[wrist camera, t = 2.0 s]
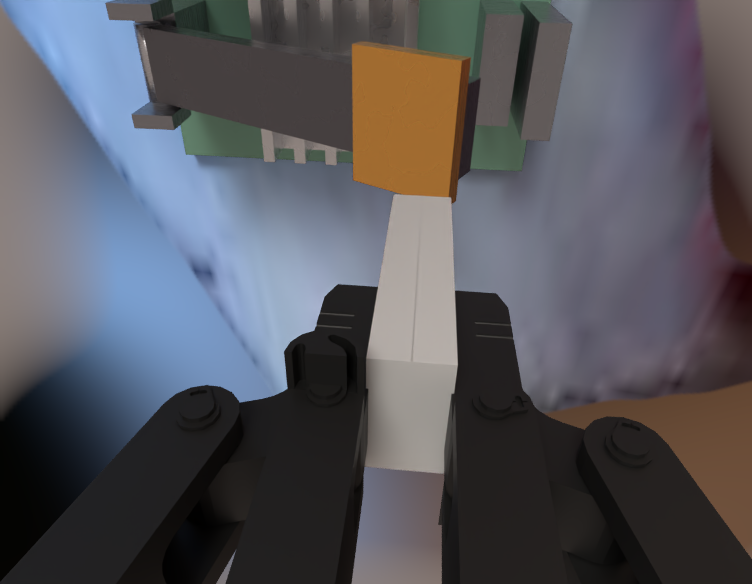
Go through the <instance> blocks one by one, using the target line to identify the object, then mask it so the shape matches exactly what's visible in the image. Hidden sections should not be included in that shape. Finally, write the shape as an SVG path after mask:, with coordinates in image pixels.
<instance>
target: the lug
mask: <svg viewBox="0 0 752 584" xmlns="http://www.w3.org/2000/svg"><path fill="white" fill-rule="evenodd" d="M571 28H572V23H571V22H570V21H569V20H568V19H567V18H565V17H564V16H563V15H562V14H561V13H560V12H559V11H558V10H556V9H555V8H554V7H553V6H552V5H551V4H550V3H548V2H543V1H521V5H520V9H519V8H518V7H517V5H516V4H515V3H514V1H509V0H480V5H479V14H478V23H477V33H476V42H475V51H474V60H473V69H472V77H478V78H481V82H480V91H479V99H478V108H477V116H476V125H484V126H506V127H507V126H508V120H509V113H510V111H511V114H512V117H513V120H514V123H515V126H516V128H517V131H518V134H519V137H520V140H539V141H549V140H550V135H551V130H552V125H553V120H554V115H555V110H556V105H557V99H558V94H559V89H560V84H561V79H562V74H563V69H564V64H565V59H566V54H567V49H568V44H569V39H570V33H571Z"/></svg>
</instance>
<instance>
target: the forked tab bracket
mask: <svg viewBox="0 0 752 584" xmlns="http://www.w3.org/2000/svg"><path fill="white" fill-rule="evenodd" d="M106 7H107V11H108V16H109V20H132V21H135V23H136V22H141V21H157V22H160V24H161V25H167V26H173V27H179V28H185V29H191V30H197V31H203V32H209V33H210V30H209V23H208V16H207V9H206V2H205V0H114V1H110V2H107V3H106ZM190 116H191V110H188V109H184V108H180V107H176V106H173V105H169V104H165V103H152V102H149V103H147V104H146V105H145V106H143V107H142V108H140V109H139V110H137V111H136V112H134V113H133V114H132V119H133V123H134V127H135V128H145V129H167V130H175V129H176V128H177V127H178V126H179V125H181V124H182V123H183V122H184V121H185V120H186V119H188V118H189V117H190Z"/></svg>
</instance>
